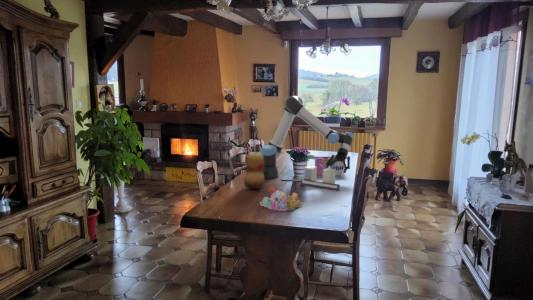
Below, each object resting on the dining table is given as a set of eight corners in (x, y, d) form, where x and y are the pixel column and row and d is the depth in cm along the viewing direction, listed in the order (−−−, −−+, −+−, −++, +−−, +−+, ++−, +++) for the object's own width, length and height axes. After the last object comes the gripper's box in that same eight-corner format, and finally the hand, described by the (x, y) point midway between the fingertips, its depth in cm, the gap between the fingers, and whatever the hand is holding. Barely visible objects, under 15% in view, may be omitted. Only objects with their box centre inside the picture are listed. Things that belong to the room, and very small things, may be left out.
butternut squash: (254, 192, 243) (254, 154, 239) (240, 188, 252) (240, 152, 248) (268, 188, 253) (269, 152, 249) (254, 185, 262) (255, 149, 258)
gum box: (343, 173, 302) (344, 156, 300) (346, 175, 294) (347, 158, 292) (314, 173, 301) (314, 156, 299) (315, 175, 293) (316, 158, 291)
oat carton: (308, 181, 273) (309, 165, 271) (316, 183, 270) (317, 166, 268) (303, 184, 266) (304, 167, 264) (311, 185, 263) (312, 168, 261)
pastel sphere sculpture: (305, 202, 226) (306, 187, 224) (295, 214, 204) (296, 197, 203) (266, 197, 234) (266, 183, 233) (253, 209, 212) (253, 193, 211)
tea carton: (326, 184, 266) (327, 168, 264) (334, 185, 262) (335, 169, 260) (322, 187, 259) (322, 170, 257) (330, 188, 256) (330, 171, 254)
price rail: (300, 184, 264) (300, 179, 263) (302, 184, 266) (302, 178, 265) (338, 191, 249) (338, 185, 249) (339, 190, 251) (339, 184, 251)
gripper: (359, 155, 275) (351, 180, 264) (330, 152, 287) (320, 175, 277) (357, 149, 269) (348, 174, 259) (327, 146, 282) (318, 170, 271)
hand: (334, 175), depth 268 cm, fingers open, 11 cm apart
